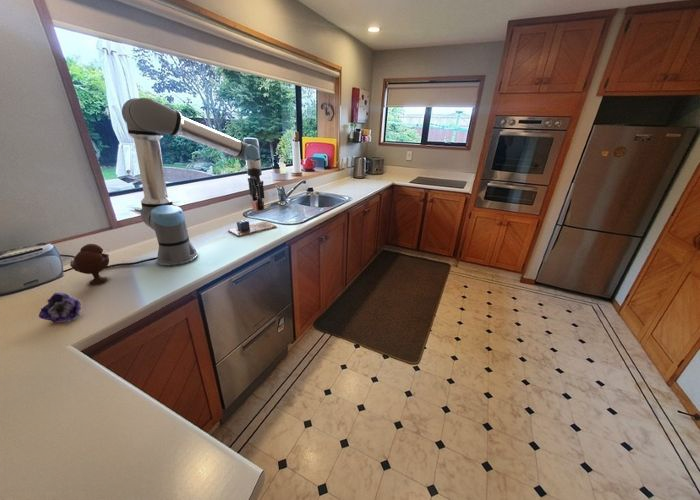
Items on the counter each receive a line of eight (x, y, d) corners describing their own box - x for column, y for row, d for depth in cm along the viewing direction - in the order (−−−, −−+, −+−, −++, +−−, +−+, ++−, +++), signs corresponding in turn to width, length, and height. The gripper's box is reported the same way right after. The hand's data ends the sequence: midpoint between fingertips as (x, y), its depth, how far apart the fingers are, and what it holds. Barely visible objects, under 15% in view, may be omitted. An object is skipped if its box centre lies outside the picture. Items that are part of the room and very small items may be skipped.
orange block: (256, 211, 161) (255, 202, 158) (252, 209, 164) (251, 200, 162) (264, 209, 164) (263, 200, 162) (260, 207, 167) (259, 198, 165)
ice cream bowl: (86, 277, 109) (72, 241, 103) (121, 273, 113) (109, 238, 107) (73, 291, 100) (56, 253, 94) (111, 286, 104) (97, 249, 98)
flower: (40, 294, 87) (43, 291, 80) (79, 294, 93) (84, 292, 87) (35, 325, 85) (37, 324, 78) (74, 323, 91) (80, 322, 85)
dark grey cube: (241, 231, 157) (240, 222, 155) (237, 229, 160) (236, 220, 158) (249, 229, 160) (248, 221, 158) (245, 227, 164) (244, 218, 162)
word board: (238, 236, 153) (237, 235, 152) (228, 231, 160) (228, 229, 160) (276, 227, 169) (276, 225, 168) (266, 222, 176) (266, 221, 176)
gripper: (268, 169, 151) (272, 211, 160) (252, 165, 162) (256, 204, 172) (255, 170, 146) (260, 213, 155) (239, 166, 157) (245, 206, 167)
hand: (258, 208), depth 164 cm, fingers closed on orange block, 5 cm apart
